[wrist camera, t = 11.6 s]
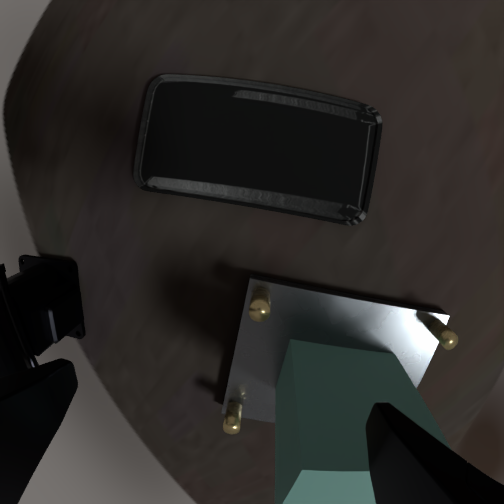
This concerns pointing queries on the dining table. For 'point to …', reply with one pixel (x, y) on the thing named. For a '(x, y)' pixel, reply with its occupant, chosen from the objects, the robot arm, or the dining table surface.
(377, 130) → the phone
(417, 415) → the teal rectangular block
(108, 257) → the dining table surface
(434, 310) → the chassis
